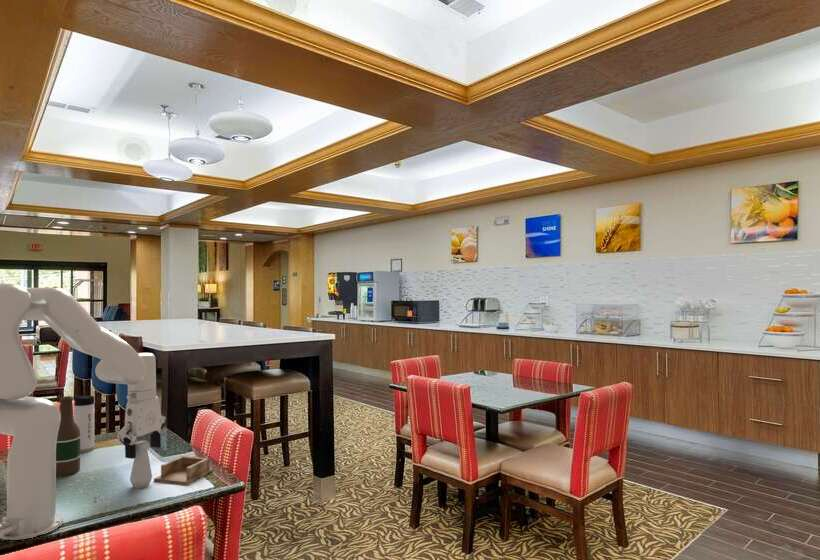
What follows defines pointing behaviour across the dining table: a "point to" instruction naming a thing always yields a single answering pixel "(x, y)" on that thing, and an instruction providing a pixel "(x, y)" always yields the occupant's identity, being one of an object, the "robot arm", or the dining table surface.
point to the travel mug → (85, 420)
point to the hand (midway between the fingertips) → (143, 452)
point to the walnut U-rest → (184, 470)
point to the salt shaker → (141, 466)
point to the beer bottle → (67, 441)
